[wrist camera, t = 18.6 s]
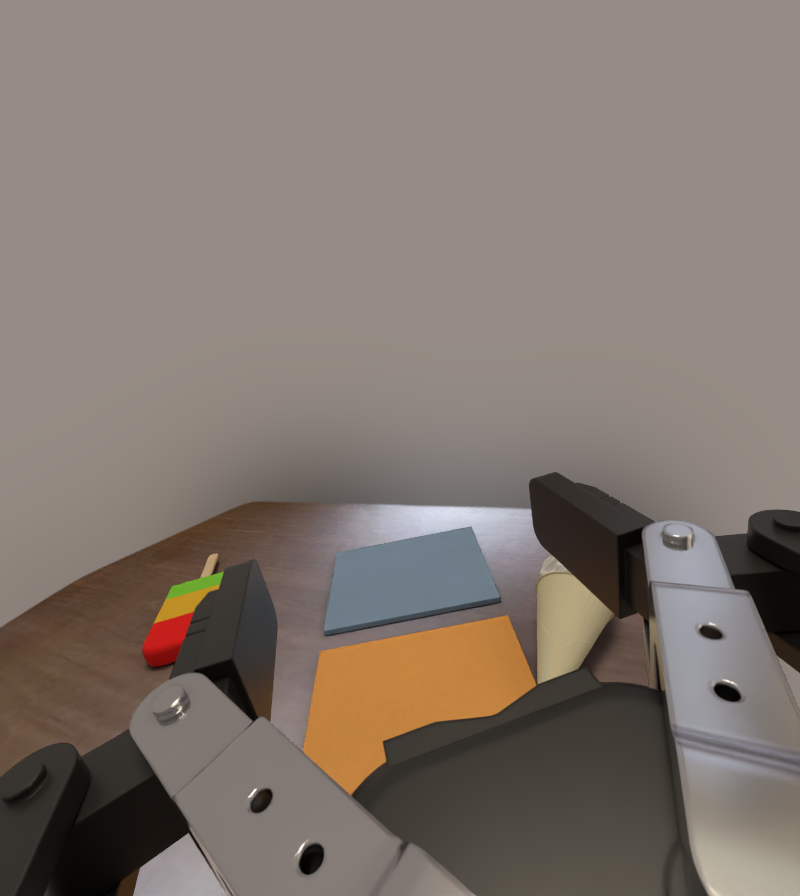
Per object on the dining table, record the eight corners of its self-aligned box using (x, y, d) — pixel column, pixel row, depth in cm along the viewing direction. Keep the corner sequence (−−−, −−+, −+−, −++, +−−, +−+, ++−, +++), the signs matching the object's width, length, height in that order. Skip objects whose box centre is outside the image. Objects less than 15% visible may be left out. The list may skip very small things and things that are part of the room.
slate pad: (471, 530, 43) (471, 526, 43) (501, 602, 33) (500, 596, 33) (337, 556, 43) (336, 552, 43) (324, 636, 33) (323, 631, 33)
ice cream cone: (485, 673, 23) (552, 502, 33) (509, 727, 25) (565, 550, 35) (582, 702, 20) (622, 504, 30) (601, 760, 22) (633, 556, 32)
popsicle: (143, 674, 33) (134, 655, 32) (191, 569, 47) (185, 554, 46) (216, 652, 34) (208, 633, 33) (242, 555, 48) (236, 540, 47)
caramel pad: (508, 620, 31) (507, 614, 31) (574, 780, 20) (573, 774, 20) (321, 656, 31) (319, 650, 31) (292, 832, 21) (289, 826, 21)
